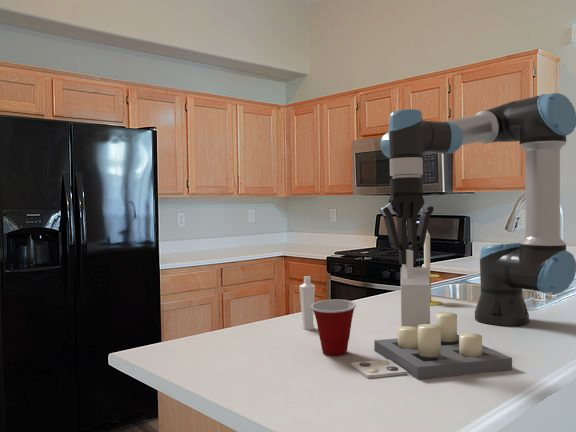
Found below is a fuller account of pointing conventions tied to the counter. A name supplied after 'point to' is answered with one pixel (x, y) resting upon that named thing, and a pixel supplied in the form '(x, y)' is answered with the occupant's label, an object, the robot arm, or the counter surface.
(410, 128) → the robot arm
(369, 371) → the card
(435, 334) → the cream domed cylinder
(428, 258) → the candle
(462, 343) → the cream rounded cylinder
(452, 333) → the cream rounded cylinder
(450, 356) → the board
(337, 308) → the plastic cup
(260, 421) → the counter surface
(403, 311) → the milk carton
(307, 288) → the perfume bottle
